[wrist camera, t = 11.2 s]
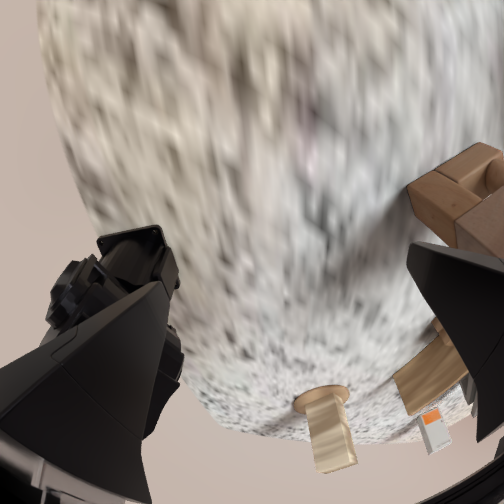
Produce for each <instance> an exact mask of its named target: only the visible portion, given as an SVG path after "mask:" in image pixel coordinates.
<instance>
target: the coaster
mask: <svg viewBox="0 0 504 504" xmlns="http://www.w3.org/2000/svg"><path fill="white" fill-rule="evenodd" d="M331 393H335V394H336V395H337V396H339V397H340V398H341V399H342V402H343V404H344V403H345V402H346V401H347V400H348V398H349V395H350V394H349V390H348V389H347V388H346V387H344V386H341V385H327V386H322V387H318V388H314V389H312V390H309V391H307V392H305V393H303V394H301V395H300V396H299V397H298V398H297V399H296V400H295V401H294V408H295V410H296V411H297V412H299V413H302V414H306V409H305V404H307V403H310V402H312V401H315V400H317V399H319V398H322V397H324V396H326V395H328V394H331Z"/></svg>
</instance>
